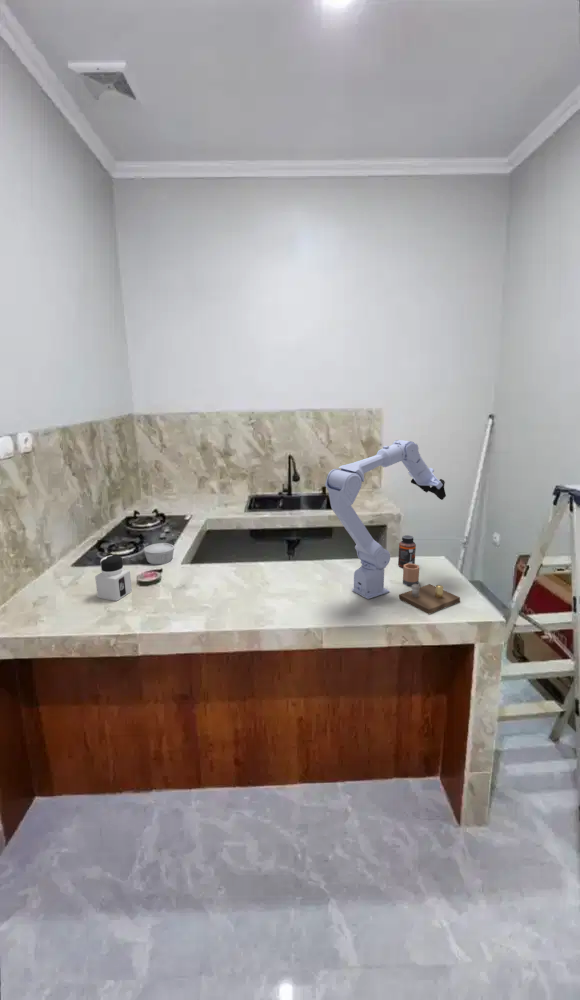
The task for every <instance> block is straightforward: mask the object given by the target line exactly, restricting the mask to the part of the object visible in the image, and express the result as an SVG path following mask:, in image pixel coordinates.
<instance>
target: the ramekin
mask: <svg viewBox="0 0 580 1000" xmlns="http://www.w3.org/2000/svg"><path fill="white" fill-rule="evenodd" d="M174 550H175V546H174V545H173V544H171V543H167V542H159V543H153V544H150V545H147V546H145V547H144V548H143V552H144V556H145V558H146V561H147V562H148V563H149V564H151V565H165V564H167V563H169V562H171V561H172V560H173V558H174Z"/></svg>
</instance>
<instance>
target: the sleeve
mask: <svg viewBox="0 0 580 1000" xmlns="http://www.w3.org/2000/svg"><path fill="white" fill-rule="evenodd" d="M402 570H403V571H402V575H403V576H402V585H405V586H407V587H412V585H413V584H418V585H419V579H420V565H418V564H416V563H415V564H410V563H408V564H404V567H403V568H402Z"/></svg>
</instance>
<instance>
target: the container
mask: <svg viewBox="0 0 580 1000" xmlns="http://www.w3.org/2000/svg"><path fill="white" fill-rule="evenodd" d="M123 566H124V564H123V557H122V556H120V555H117V554H112V555H111V554H110V555H107V556H104V557H102V558H101V559H100V571H101V572H100V573H99V574H97V575H95V585H96V594H97V598H98V599H102V600H109V601H113V602H118V601H120V600H121V599H122V598H124V597H126V596H127V595H128V594H130V593H132V591H133V588H132V577H131V570H130V569H124V567H123Z"/></svg>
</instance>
